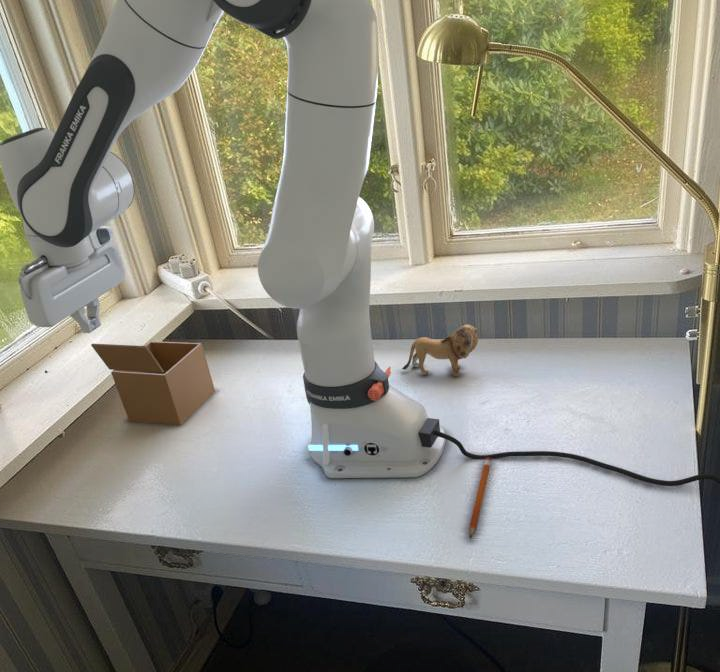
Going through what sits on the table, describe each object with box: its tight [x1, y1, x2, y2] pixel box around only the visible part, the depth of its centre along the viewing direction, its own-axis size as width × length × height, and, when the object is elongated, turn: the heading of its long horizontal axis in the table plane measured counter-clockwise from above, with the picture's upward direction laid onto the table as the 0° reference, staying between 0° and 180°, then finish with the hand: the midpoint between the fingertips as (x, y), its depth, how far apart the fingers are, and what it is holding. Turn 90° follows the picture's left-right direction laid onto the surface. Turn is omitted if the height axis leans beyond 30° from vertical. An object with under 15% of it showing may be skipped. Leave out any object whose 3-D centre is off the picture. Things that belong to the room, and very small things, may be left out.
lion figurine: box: [401, 324, 479, 377], centre depth 136 cm, size 15×5×9 cm, turn 79°
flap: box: [90, 343, 164, 373], centre depth 128 cm, size 12×6×1 cm
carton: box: [110, 340, 216, 426], centre depth 138 cm, size 12×13×10 cm
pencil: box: [468, 457, 492, 539], centre depth 105 cm, size 1×19×1 cm, turn 164°
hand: (92, 329), depth 119 cm, fingers closed
